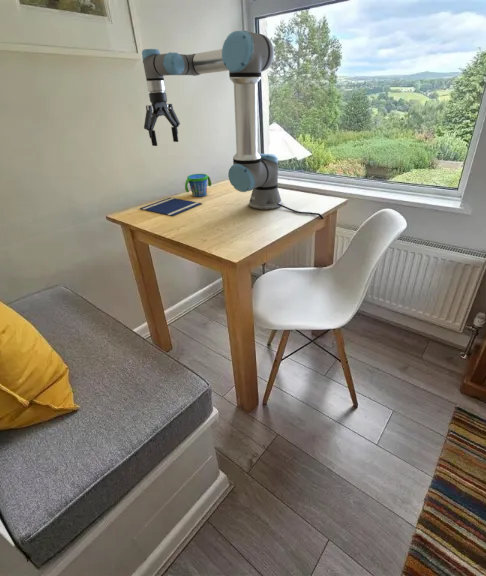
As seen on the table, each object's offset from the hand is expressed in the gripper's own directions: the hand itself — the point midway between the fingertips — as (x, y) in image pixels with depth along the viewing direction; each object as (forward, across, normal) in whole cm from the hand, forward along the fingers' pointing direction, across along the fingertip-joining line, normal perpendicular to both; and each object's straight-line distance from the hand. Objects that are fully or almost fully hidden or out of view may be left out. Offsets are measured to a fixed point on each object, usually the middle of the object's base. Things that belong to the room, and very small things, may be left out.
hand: (165, 143), depth 155 cm
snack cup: (+27, -10, +8) cm, 30 cm away
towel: (+26, +11, +8) cm, 30 cm away
